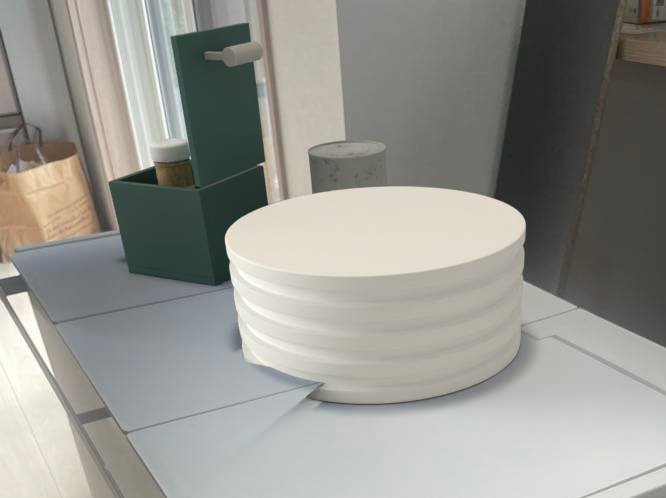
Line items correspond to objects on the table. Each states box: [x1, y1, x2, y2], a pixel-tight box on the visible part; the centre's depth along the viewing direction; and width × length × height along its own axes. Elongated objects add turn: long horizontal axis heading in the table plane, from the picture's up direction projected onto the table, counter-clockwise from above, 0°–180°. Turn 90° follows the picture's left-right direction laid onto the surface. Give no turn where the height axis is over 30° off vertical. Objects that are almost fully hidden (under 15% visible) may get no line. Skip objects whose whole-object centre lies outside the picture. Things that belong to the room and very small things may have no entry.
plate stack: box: [225, 185, 527, 405], centre depth 82 cm, size 28×28×12 cm
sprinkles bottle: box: [149, 137, 195, 189], centre depth 104 cm, size 5×5×13 cm
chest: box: [107, 158, 269, 287], centre depth 104 cm, size 14×13×11 cm
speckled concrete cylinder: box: [307, 139, 388, 194], centre depth 105 cm, size 10×10×12 cm
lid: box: [169, 22, 266, 187], centre depth 93 cm, size 14×13×5 cm
